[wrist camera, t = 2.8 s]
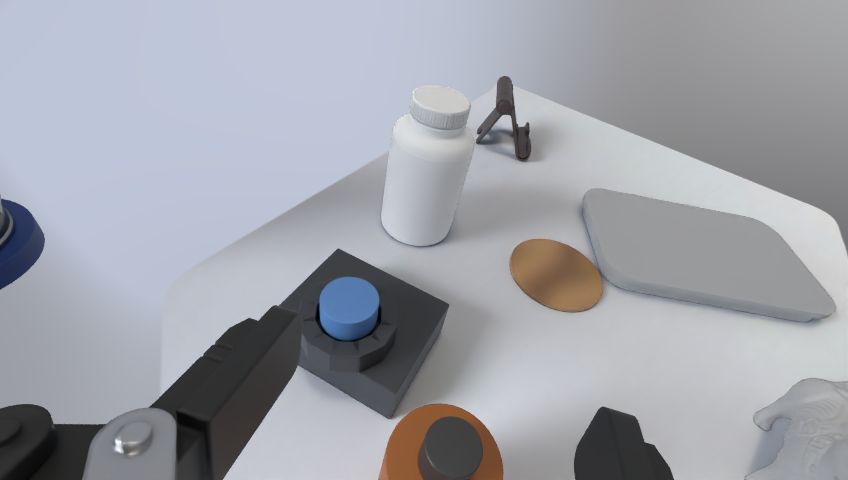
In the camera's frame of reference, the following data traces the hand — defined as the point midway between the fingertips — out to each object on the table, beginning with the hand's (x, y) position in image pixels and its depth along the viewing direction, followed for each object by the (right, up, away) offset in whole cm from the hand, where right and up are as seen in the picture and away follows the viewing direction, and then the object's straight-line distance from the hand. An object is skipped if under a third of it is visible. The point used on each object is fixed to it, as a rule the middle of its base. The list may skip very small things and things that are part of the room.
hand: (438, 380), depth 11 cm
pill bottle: (-1, +5, +36) cm, 36 cm away
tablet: (+32, +1, +39) cm, 51 cm away
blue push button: (-6, -2, +18) cm, 19 cm away
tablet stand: (+12, +19, +53) cm, 57 cm away
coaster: (+14, 0, +33) cm, 36 cm away
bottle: (-1, -14, +15) cm, 20 cm away
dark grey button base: (-6, -5, +24) cm, 25 cm away
